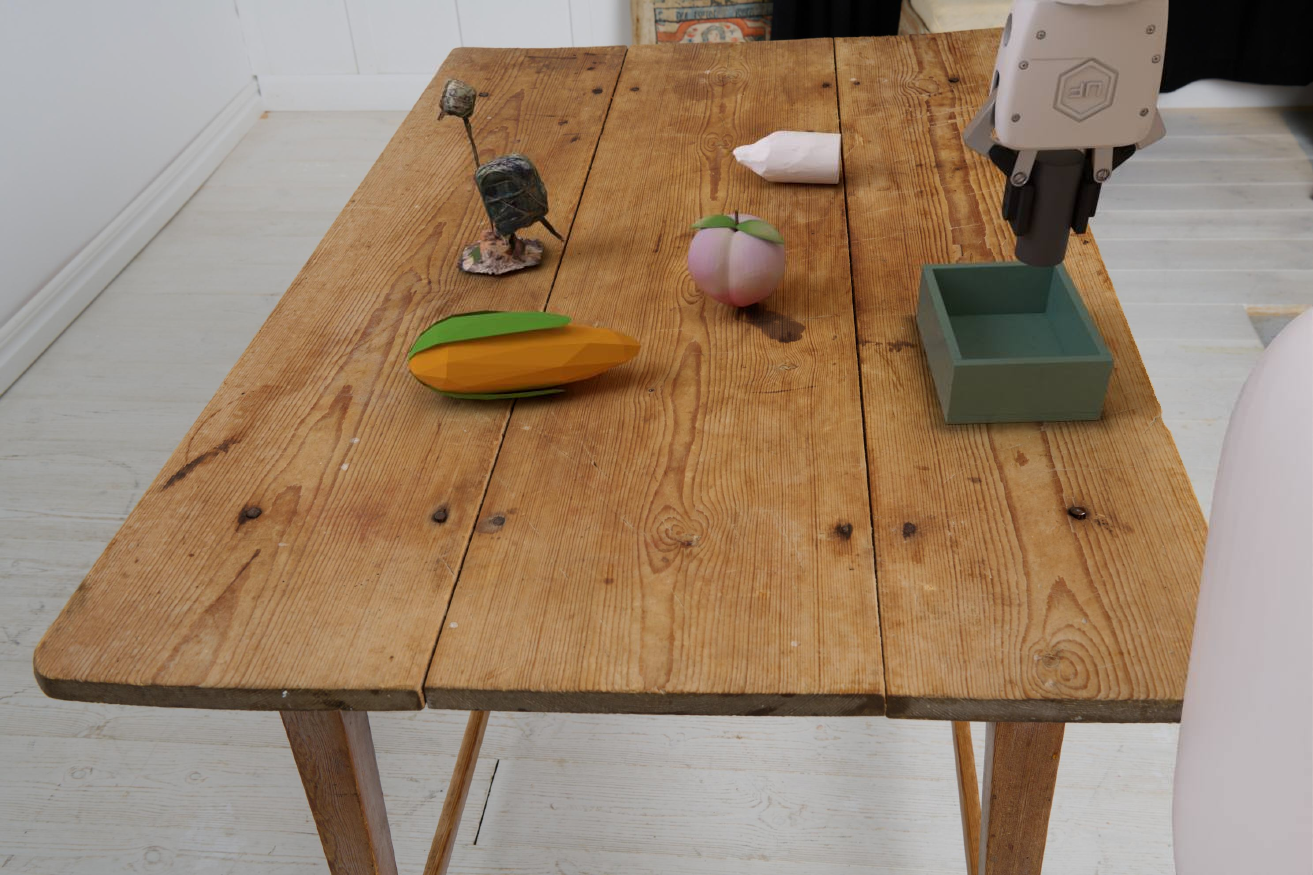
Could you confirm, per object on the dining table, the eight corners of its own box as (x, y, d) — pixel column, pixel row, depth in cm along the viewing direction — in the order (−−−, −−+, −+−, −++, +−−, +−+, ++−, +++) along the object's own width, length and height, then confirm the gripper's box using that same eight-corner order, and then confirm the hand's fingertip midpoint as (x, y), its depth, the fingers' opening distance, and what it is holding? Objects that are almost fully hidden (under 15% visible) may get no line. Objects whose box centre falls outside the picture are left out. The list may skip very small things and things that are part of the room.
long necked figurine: (548, 285, 107) (520, 90, 94) (446, 274, 110) (405, 84, 97) (575, 246, 113) (553, 58, 100) (478, 237, 116) (444, 53, 103)
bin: (1099, 420, 85) (1114, 360, 81) (946, 424, 86) (954, 365, 82) (1050, 315, 97) (1061, 259, 93) (915, 319, 98) (921, 264, 94)
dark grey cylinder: (1057, 242, 81) (1077, 143, 76) (1070, 266, 78) (1091, 165, 73) (1009, 244, 81) (1026, 145, 76) (1020, 268, 78) (1038, 167, 73)
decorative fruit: (795, 287, 104) (798, 193, 97) (777, 332, 98) (778, 235, 91) (702, 277, 106) (699, 184, 100) (679, 321, 100) (674, 225, 94)
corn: (404, 297, 91) (636, 279, 91) (423, 366, 97) (642, 349, 96) (392, 350, 86) (639, 332, 86) (413, 420, 91) (645, 403, 91)
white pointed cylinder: (737, 167, 125) (736, 121, 122) (840, 169, 123) (842, 123, 120) (730, 190, 121) (729, 143, 117) (837, 193, 119) (839, 145, 115)
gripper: (971, -11, 64) (939, 256, 76) (1256, -26, 63) (1178, 247, 75) (949, -46, 70) (922, 207, 82) (1209, -61, 69) (1144, 198, 80)
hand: (1045, 224), depth 78 cm, fingers closed on dark grey cylinder, 3 cm apart
